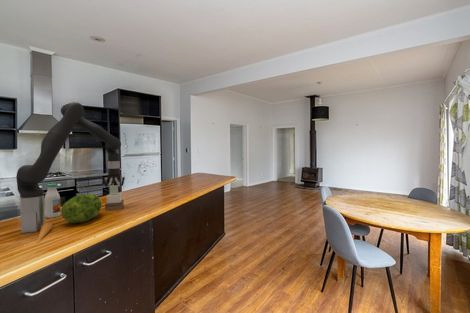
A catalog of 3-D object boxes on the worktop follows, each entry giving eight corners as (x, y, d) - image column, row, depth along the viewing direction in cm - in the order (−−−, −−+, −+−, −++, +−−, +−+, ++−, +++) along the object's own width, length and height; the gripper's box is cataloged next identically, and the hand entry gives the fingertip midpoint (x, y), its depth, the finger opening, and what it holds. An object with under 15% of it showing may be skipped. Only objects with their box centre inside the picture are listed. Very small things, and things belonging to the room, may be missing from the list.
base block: (121, 209, 161) (121, 202, 161) (105, 211, 158) (105, 203, 158) (123, 206, 171) (123, 199, 171) (108, 207, 168) (108, 200, 168)
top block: (119, 202, 162) (119, 195, 162) (106, 203, 160) (106, 195, 159) (122, 199, 169) (122, 193, 169) (109, 200, 167) (109, 193, 167)
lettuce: (110, 213, 151) (109, 189, 151) (83, 227, 125) (83, 198, 124) (87, 213, 151) (86, 189, 151) (55, 227, 125) (54, 198, 124)
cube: (117, 193, 163) (117, 186, 162) (109, 193, 161) (109, 186, 161) (118, 192, 167) (118, 185, 167) (111, 192, 166) (110, 185, 166)
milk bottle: (47, 219, 140) (46, 185, 139) (43, 216, 145) (42, 184, 144) (62, 216, 146) (61, 183, 145) (58, 213, 151) (57, 182, 150)
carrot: (45, 231, 122) (40, 223, 121) (55, 226, 124) (50, 219, 122) (34, 249, 104) (29, 241, 103) (46, 243, 106) (40, 235, 105)
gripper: (101, 168, 158) (101, 193, 158) (124, 167, 162) (125, 192, 163) (103, 167, 165) (103, 191, 165) (125, 167, 169) (126, 190, 170)
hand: (114, 192), depth 164 cm, fingers closed on cube, 5 cm apart
